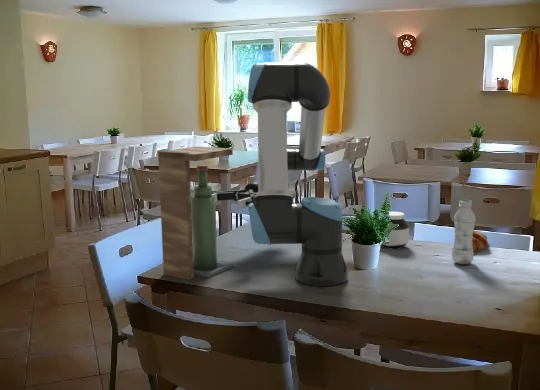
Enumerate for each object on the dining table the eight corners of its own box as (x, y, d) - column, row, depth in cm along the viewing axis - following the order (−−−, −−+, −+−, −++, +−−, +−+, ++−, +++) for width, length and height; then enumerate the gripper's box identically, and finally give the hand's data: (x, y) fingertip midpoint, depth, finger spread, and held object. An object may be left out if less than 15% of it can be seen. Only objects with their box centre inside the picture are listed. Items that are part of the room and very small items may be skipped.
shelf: (200, 260, 191) (196, 145, 184) (235, 267, 184) (232, 148, 177) (163, 274, 177) (158, 151, 170) (199, 282, 170) (195, 153, 163)
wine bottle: (220, 268, 181) (218, 166, 175) (198, 271, 178) (194, 168, 172) (212, 262, 187) (209, 164, 182) (189, 265, 184) (186, 165, 178)
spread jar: (411, 247, 204) (413, 214, 202) (390, 253, 197) (391, 219, 195) (384, 240, 213) (385, 208, 211) (363, 246, 206) (364, 213, 204)
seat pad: (200, 260, 191) (200, 257, 190) (232, 267, 184) (232, 264, 183) (175, 270, 181) (174, 267, 180) (208, 277, 174) (208, 274, 173)
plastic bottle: (474, 261, 187) (477, 199, 183) (471, 267, 181) (475, 203, 177) (453, 259, 189) (456, 198, 186) (450, 265, 183) (453, 201, 180)
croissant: (475, 250, 212) (466, 229, 214) (501, 241, 206) (492, 220, 207) (450, 262, 197) (440, 239, 198) (477, 253, 190) (467, 230, 191)
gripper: (289, 206, 198) (253, 219, 180) (229, 199, 211) (190, 210, 193) (289, 184, 196) (253, 194, 179) (228, 178, 210) (189, 187, 192)
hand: (220, 203), depth 186 cm, fingers open, 13 cm apart
